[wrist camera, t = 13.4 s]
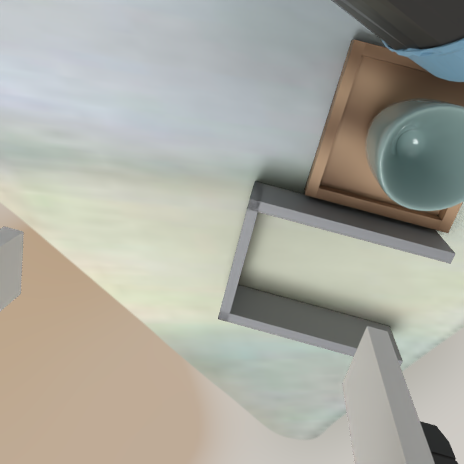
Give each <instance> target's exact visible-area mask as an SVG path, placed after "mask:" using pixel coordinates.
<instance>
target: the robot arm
mask: <svg viewBox="0 0 464 464" xmlns="http://www.w3.org/2000/svg"><path fill="white" fill-rule="evenodd" d="M332 1H333V2H334V3H336V4H337V5H338V6H339V7H341V8H342V9H343V10H345V11H346V12H347V13H348V14H350V15H351V16H352V17H354V18H355V19H356V20H357V21H359V22H360V23H361V24H363V25H364V26H365V27H366V28H368V29H369V30H370V31H372V32H373V33H374V34H375V35H377V36H378V37H379V38H381V39H382V42H383V44H384V45H385V46H386V47H387V48H388V49H389V50H390V51H392V52H396V53H397V54H398V55H401V56H405V57H408V58H409V59H411V60H412V61H414V62H415V63H417V64H418V65H419V66H421V67H422V68H424V69H425V70H427V71H428V72H430V73H431V74H432V75H434V76H436V77H438V78H441V79H445V80H448V81H455V82H464V0H332ZM23 235H24V234H23V232H22V231H19V230H15V229H12V228H8V227H2V228H1V229H0V311H1V310H2V309H4V307H6V306H7V305H8V304H9V303H11V302H12V301H13V300H14V299H15V298H16V297H18V296H19V295H20V294H21V276H22V255H23V254H22V253H23ZM342 386H343V392H344V398H345V405H346V411H347V417H348V423H349V430H350V436H351V442H352V449H353V455H354V461H355V464H458V463H457V461H455V455H454V453H453V451H452V448H451V446H450V444H449V441H448V440H447V439H446V438H445V436H444V435H443V434H442V433H441V431H440V430H439V429H438V427H437V426H435V425H431V424H428V423H424V422H420V421H419V418H418V415H417V412H416V410H415V407H414V404H413V401H412V398H411V396H410V393H409V390H408V387H407V384H406V382H405V379H404V376H403V373H402V370H401V368H400V365H399V362H398V359H397V356H396V354H395V351H394V348H393V345H392V342H391V340H390V337H389V334H388V332H387V331H384V330H380V329H376V328H373V327H369V326H367V327H366V330H365V332H364V334H363V336H362V339H361V341H360V343H359V346H358V348H357V350H356V353H355V355H354V357H353V360H352V362H351V364H350V367H349V369H348V371H347V373H346V376H345V378H344V380H343V383H342Z"/></svg>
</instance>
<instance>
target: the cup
mask: <svg viewBox="0 0 464 464" xmlns="http://www.w3.org/2000/svg"><path fill="white" fill-rule="evenodd" d="M365 155H366V159H367V163H368V167H369V169H370V171H371V173H372V175H373V177H374V178H375V180H376V182H377V183H378V184H379V186H380V187H381V189H382V190H383V191H384V192H385V193H386V195H387V196H388V197H389V198H390V199H391V200H393V201H394V202H396V203H397V204H399V205H401V206H404V207H406V208H409V209H413V210H418V211H435V210H442V209H446V208H450V207H453V206H455V205H457V204H460V203H462V202H464V107H463V106H460V105H458V104H454V103H450V102H446V101H441V100H436V99H430V98H412V99H406V100H401V101H398V102H395V103H392V104H391V105H389V106H387V107H385V108H384V109H382V110H381V111H380V112H379V113H378V114H377V115H376V116H375V117H374V119H373V120H372V122H371V124H370V126H369V128H368V131H367V135H366V140H365Z"/></svg>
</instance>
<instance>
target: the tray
mask: <svg viewBox="0 0 464 464" xmlns="http://www.w3.org/2000/svg"><path fill="white" fill-rule="evenodd" d="M412 98H430V99H436V100H441V101H446V102H450V103H454V104H458V105H460V106H463V107H464V82H455V81H448V80H445V79H441V78H438V77H436V76H434V75H432V74H431V73H430V72H428V71H427V70H425V69H424V68H422V67H421V66H419V65H418V64H417V63H415V62H414V61H412V60H411V59H409V58H408V57H405V56H401V55H398V54H397V53H396V52H392V51H390V50H389V49H388V48H386V47H382V46H378V45H374V44H370V43H366V42H362V41H358V40H352V41H351V44H350V47H349V50H348V53H347V57H346V60H345V63H344V66H343V69H342V72H341V76H340V79H339V82H338V85H337V88H336V91H335V95H334V98H333V101H332V104H331V107H330V110H329V113H328V117H327V120H326V123H325V126H324V129H323V132H322V136H321V139H320V142H319V145H318V148H317V151H316V155H315V158H314V161H313V164H312V167H311V170H310V174H309V177H308V180H307V183H306V186H305V195H307V196H310V197H314V198H318V199H322V200H325V201H329V202H333V203H337V204H340V205H344V206H348V207H352V208H355V209H359V210H363V211H367V212H370V213H374V214H378V215H382V216H385V217H389V218H393V219H397V220H400V221H404V222H408V223H412V224H415V225H419V226H423V227H427V228H431V229H434V230H438V231H442V232H446V233H448V232H449V230H450V228H451V226H452V224H453V222H454V220H455V217H456V215H457V213H458V211H459V209H460V207H461V205H462V203H463V202H462V203H460V204H457V205H455V206H453V207H450V208H446V209H442V210H435V211H418V210H413V209H409V208H406V207H404V206H401V205H399V204H397V203H396V202H394V201H393V200H391V199H390V198H389V197H388V196H387V195H386V193H385V192H384V191H383V190H382V189H381V187H380V186H379V184H378V183H377V182H376V180H375V178H374V177H373V175H372V173H371V171H370V169H369V167H368V163H367V159H366V155H365V140H366V135H367V131H368V128H369V126H370V124H371V122H372V120H373V119H374V117H375V116H376V115H377V114H378V113H379V112H380V111H381V110H382V109H384V108H385V107H387V106H389V105H391V104H392V103H395V102H398V101H401V100H406V99H412Z"/></svg>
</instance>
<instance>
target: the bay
mask: <svg viewBox="0 0 464 464" xmlns="http://www.w3.org/2000/svg"><path fill="white" fill-rule="evenodd" d="M258 212H260V213H264V214H267V215H271V216H275V217H278V218H282V219H286V220H290V221H293V222H297V223H301V224H305V225H308V226H312V227H316V228H319V229H323V230H327V231H331V232H334V233H338V234H342V235H346V236H349V237H353V238H357V239H360V240H364V241H368V242H372V243H375V244H379V245H383V246H387V247H390V248H394V249H398V250H401V251H405V252H409V253H413V254H416V255H420V256H424V257H428V258H431V259H435V260H439V261H442V262H446V263H450V264H451V262H452V260H453V258H454V256H455V253H454V251H453V250H452V249H451V248H450V247H449V246H448V244H447V243H446V242H445V241H444V240H443V239H442V237H441V236H440V235H439V234H438V233H437V232H436V230H434V229H431V228H427V227H423V226H419V225H415V224H412V223H408V222H404V221H400V220H397V219H393V218H389V217H385V216H382V215H378V214H374V213H370V212H367V211H363V210H359V209H355V208H352V207H348V206H344V205H340V204H337V203H333V202H329V201H325V200H322V199H318V198H314V197H310V196H307V195H305V194H301V193H297V192H293V191H290V190H286V189H282V188H278V187H275V186H271V185H267V184H263V183H260V182H256V181H255V183H254V186H253V190H252V193H251V196H250V200H249V204H248V207H247V211H246V215H245V219H244V222H243V226H242V230H241V234H240V237H239V241H238V245H237V249H236V252H235V256H234V260H233V264H232V267H231V271H230V275H229V279H228V283H227V286H226V290H225V294H224V298H223V301H222V305H221V309H220V313H219V316H218V319H220V320H223V321H227V322H231V323H234V324H238V325H241V326H245V327H249V328H252V329H256V330H259V331H263V332H267V333H270V334H274V335H278V336H281V337H285V338H288V339H292V340H296V341H299V342H303V343H306V344H310V345H314V346H317V347H321V348H325V349H328V350H332V351H335V352H339V353H343V354H346V355H350V356H353V357H354V355H355V353H356V350H357V348H358V346H359V343H360V341H361V339H362V336H363V334H364V332H365V330H366V327H367V326H369V327H373V328H376V329H380V330H384V331H387V332H388V334H389V337H390V340H391V342H392V345H393V348H394V351H395V354H396V356H397V359H398V362H399V365H401V363H402V358H401V355H400V353H399V350H398V347H397V345H396V342H395V339H394V337H393V334H392V331H391V329H390V326H387V325H383V324H379V323H376V322H372V321H368V320H365V319H361V318H358V317H354V316H350V315H347V314H343V313H339V312H336V311H332V310H328V309H325V308H321V307H317V306H314V305H310V304H306V303H303V302H299V301H295V300H292V299H288V298H284V297H281V296H277V295H274V294H270V293H266V292H263V291H259V290H255V289H252V288H248V287H244V286H241V285H238V282H239V278H240V275H241V271H242V267H243V264H244V260H245V257H246V253H247V249H248V246H249V242H250V239H251V235H252V231H253V228H254V224H255V221H256V217H257V213H258Z"/></svg>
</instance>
